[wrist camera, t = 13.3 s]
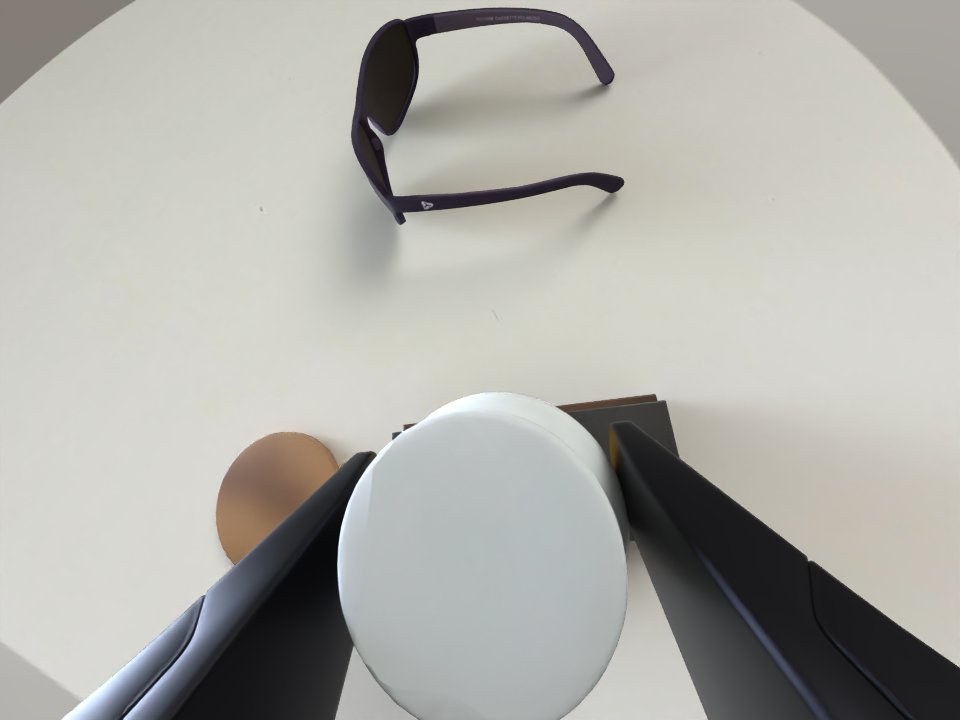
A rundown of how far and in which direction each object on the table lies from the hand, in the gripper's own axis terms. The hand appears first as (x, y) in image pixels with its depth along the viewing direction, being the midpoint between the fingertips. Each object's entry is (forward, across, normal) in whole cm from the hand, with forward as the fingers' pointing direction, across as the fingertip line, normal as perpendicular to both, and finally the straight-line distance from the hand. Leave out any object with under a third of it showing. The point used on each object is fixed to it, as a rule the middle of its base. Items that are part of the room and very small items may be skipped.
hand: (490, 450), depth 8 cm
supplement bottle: (+4, 0, +6) cm, 7 cm away
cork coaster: (+7, +14, +9) cm, 18 cm away
